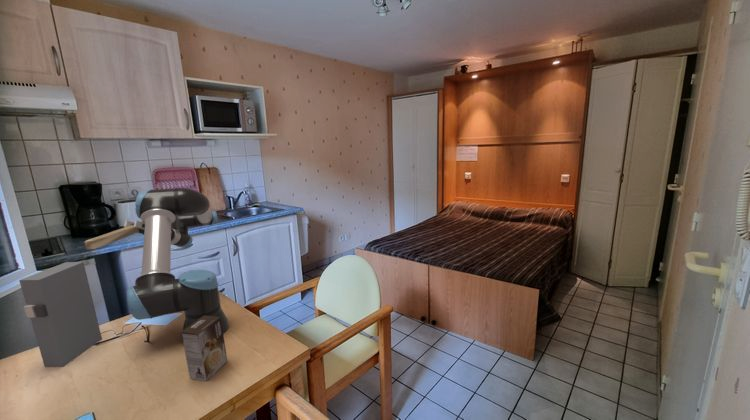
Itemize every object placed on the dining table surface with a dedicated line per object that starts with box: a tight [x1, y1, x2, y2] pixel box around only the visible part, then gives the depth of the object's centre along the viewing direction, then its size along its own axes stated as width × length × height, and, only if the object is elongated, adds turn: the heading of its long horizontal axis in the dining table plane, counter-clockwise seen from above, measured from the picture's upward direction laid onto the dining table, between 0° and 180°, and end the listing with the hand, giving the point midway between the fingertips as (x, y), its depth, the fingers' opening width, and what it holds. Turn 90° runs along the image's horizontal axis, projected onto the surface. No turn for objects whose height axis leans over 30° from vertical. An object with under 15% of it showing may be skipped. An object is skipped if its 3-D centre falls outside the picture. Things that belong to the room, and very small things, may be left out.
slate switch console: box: [19, 261, 103, 368], centre depth 100 cm, size 6×15×30 cm, turn 179°
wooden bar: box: [84, 224, 144, 250], centre depth 122 cm, size 3×26×3 cm, turn 179°
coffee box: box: [180, 315, 228, 382], centre depth 93 cm, size 9×6×16 cm
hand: (130, 223), depth 128 cm, fingers closed on wooden bar, 3 cm apart
